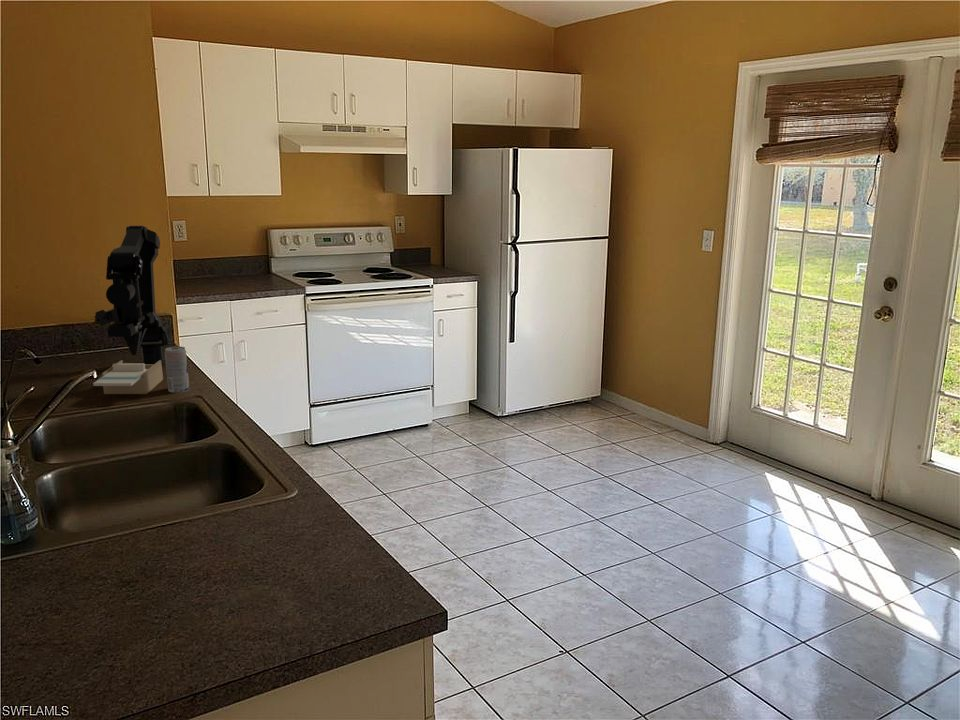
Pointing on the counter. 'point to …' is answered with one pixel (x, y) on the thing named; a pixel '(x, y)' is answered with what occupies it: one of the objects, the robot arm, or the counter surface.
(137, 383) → the mailer box
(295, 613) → the counter surface
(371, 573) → the counter surface
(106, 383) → the lid
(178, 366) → the energy drink
